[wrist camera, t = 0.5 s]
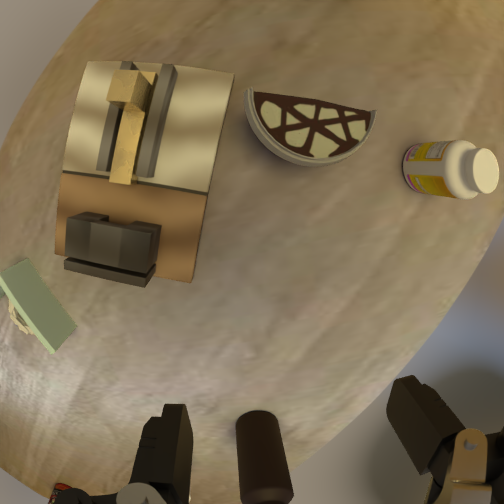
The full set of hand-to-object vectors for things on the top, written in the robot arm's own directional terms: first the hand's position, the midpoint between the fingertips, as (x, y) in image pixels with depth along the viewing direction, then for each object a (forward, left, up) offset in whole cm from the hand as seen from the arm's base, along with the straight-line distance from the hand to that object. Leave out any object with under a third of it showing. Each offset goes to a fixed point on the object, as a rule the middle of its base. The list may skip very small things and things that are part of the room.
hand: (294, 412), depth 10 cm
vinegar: (+28, +7, -27) cm, 40 cm away
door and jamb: (-7, -15, -27) cm, 31 cm away
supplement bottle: (-15, +20, -27) cm, 37 cm away
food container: (-13, +2, -27) cm, 30 cm away
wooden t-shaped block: (-11, -15, -24) cm, 30 cm away
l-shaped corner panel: (+16, -30, -28) cm, 43 cm away
